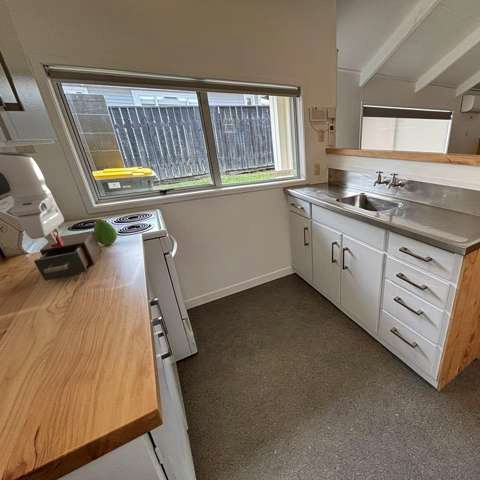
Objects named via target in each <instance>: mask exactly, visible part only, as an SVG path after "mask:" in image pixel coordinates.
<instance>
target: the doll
mask: <svg viewBox="0 0 480 480" xmlns="http://www.w3.org/2000/svg"><path fill="white" fill-rule="evenodd" d="M52 233H53V234H52V235H53V236H54V237H55V238H56V239H57V241H58V242H57V243H56V244H52V245H51V246H52V248H54V247H60V246H62V245H63V242H62V240H61V238H60V236H61V235H60V236H57V233H56V232H53V231H52Z"/></svg>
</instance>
